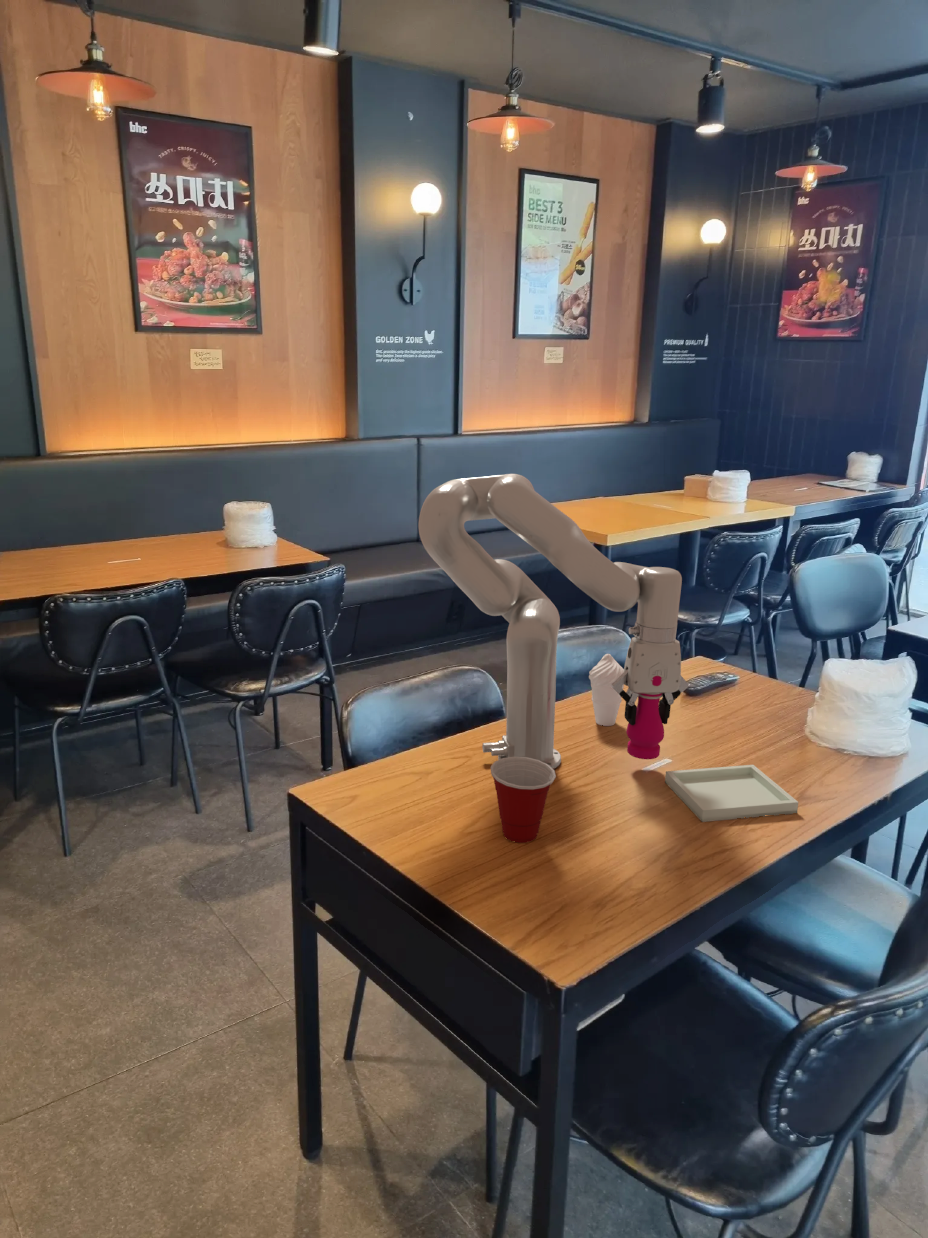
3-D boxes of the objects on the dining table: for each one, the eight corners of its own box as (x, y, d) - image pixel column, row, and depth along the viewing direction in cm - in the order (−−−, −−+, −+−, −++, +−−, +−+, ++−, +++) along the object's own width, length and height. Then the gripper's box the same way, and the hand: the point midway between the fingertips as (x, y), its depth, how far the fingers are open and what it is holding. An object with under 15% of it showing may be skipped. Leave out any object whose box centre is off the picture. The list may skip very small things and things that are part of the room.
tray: (702, 822, 151) (703, 810, 151) (665, 782, 167) (665, 771, 166) (797, 813, 155) (798, 802, 154) (752, 775, 170) (753, 764, 169)
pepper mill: (665, 761, 168) (676, 662, 163) (627, 760, 168) (637, 661, 163) (657, 746, 175) (668, 651, 170) (621, 744, 175) (631, 649, 170)
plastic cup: (535, 858, 139) (537, 789, 136) (477, 840, 145) (477, 773, 142) (564, 830, 148) (567, 765, 145) (508, 814, 154) (510, 750, 151)
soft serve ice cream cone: (626, 730, 192) (631, 660, 188) (588, 729, 192) (592, 660, 188) (620, 716, 200) (624, 649, 196) (584, 715, 200) (587, 648, 196)
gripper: (619, 639, 160) (610, 731, 164) (706, 638, 163) (696, 728, 168) (605, 628, 167) (597, 716, 172) (689, 627, 170) (679, 713, 175)
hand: (646, 721), depth 170 cm, fingers closed on pepper mill, 5 cm apart
